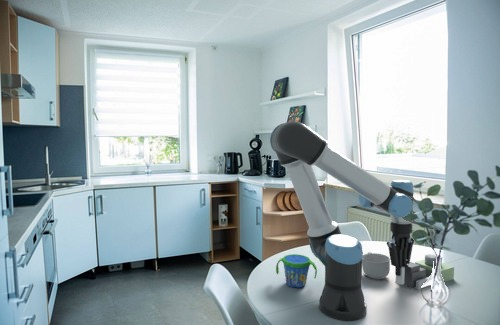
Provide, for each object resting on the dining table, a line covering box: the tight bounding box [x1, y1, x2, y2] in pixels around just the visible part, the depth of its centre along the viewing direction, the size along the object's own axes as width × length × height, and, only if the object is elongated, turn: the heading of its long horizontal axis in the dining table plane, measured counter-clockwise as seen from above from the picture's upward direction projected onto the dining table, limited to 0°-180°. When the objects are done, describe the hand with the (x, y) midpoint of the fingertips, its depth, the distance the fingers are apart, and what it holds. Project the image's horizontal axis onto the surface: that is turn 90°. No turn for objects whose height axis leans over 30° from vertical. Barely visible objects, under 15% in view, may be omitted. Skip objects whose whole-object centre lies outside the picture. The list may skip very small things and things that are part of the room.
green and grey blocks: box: [414, 253, 455, 291], centre depth 138 cm, size 21×11×8 cm, turn 119°
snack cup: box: [275, 253, 318, 289], centre depth 134 cm, size 16×10×10 cm
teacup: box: [362, 251, 391, 280], centre depth 143 cm, size 14×11×8 cm
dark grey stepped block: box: [402, 261, 426, 289], centre depth 134 cm, size 8×6×8 cm
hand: (400, 283), depth 131 cm, fingers closed
